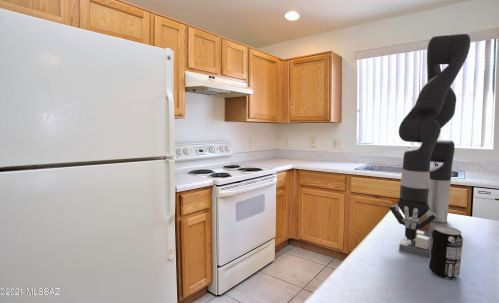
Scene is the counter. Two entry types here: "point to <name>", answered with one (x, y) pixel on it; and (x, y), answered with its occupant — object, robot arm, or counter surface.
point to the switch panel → (415, 248)
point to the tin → (422, 221)
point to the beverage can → (446, 252)
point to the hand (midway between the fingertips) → (410, 239)
